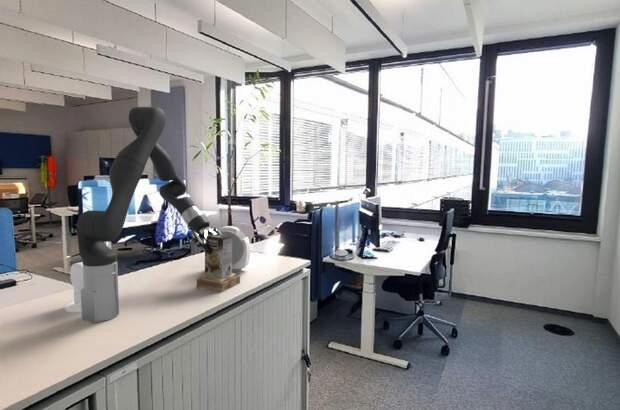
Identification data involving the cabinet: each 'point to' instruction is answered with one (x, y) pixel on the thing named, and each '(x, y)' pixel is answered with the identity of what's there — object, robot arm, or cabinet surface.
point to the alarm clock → (238, 247)
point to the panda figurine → (76, 285)
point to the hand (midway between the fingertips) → (218, 251)
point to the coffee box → (219, 256)
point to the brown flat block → (218, 282)
